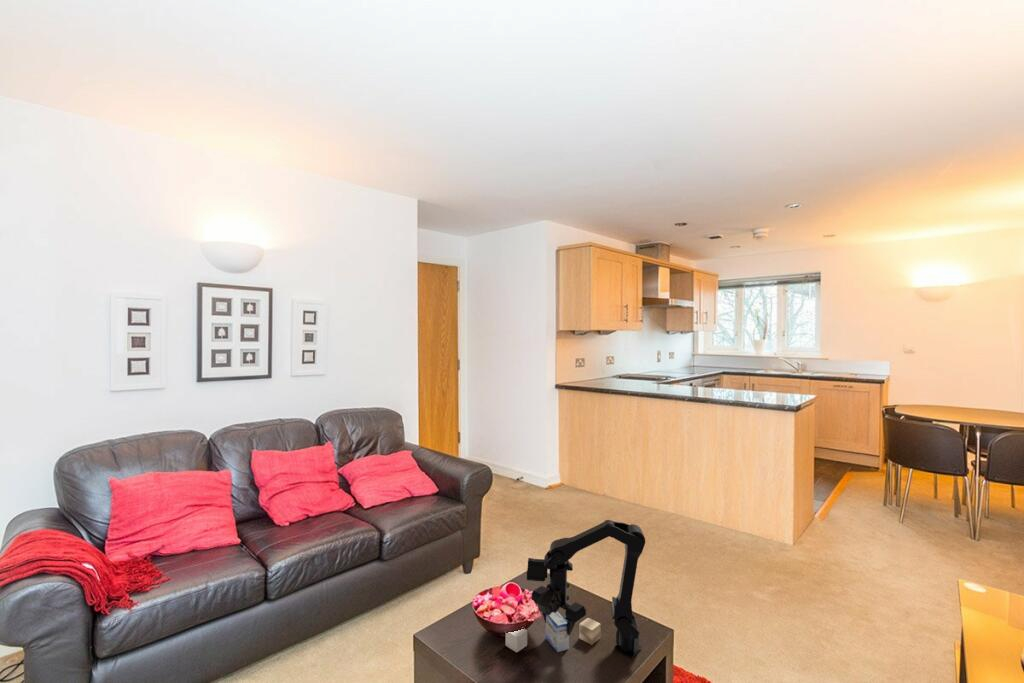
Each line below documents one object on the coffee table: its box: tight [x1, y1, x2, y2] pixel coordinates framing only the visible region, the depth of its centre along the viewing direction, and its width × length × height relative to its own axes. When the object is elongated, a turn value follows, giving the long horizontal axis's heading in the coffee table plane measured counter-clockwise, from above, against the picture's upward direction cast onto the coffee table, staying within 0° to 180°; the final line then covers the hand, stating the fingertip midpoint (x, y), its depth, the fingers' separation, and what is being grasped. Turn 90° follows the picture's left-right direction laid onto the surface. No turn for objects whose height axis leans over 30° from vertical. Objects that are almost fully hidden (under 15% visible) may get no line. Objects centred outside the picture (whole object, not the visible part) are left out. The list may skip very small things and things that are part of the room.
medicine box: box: [545, 611, 570, 653], centre depth 156 cm, size 8×4×9 cm, turn 25°
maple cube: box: [578, 617, 602, 646], centre depth 160 cm, size 5×5×5 cm
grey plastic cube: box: [505, 628, 528, 653], centre depth 155 cm, size 5×5×5 cm
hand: (557, 628), depth 156 cm, fingers open, 9 cm apart
